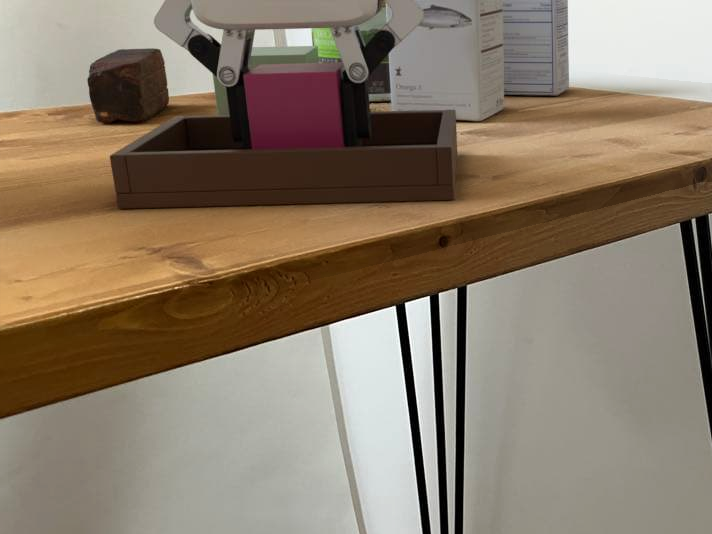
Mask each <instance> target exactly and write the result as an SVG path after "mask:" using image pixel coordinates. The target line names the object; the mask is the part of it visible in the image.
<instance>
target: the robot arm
mask: <svg viewBox="0 0 712 534" xmlns="http://www.w3.org/2000/svg"><path fill="white" fill-rule="evenodd" d="M384 1H385V2H386V3H387V4H388V5H389V6H390V8H391V10H392V18H391V19H390V21H389V22H388V23H387V24H385V25H384V26H383V27H382V28H381V29H380V30H379V31H378V32H377V33H376V34H375V35H374V36H373V37H372V39H371V40H370V41H369V42H368V43H367V44H366V46H365V43H364V40H363V38H362V35H361V32H360V29H359V27H358V25H359V24H362V23H364V22H366V21H368V20H370V19H371V18H372V17H373V16H375V15H377V14H378V13H379V12H380V10H381V9H382V6H383V0H164V1H163V3H162V4H161V6H160V8H159V10H158V11H157V13H156V15H155V16H154V19H153V25H154V26H155V28H156V29H157V30H158V31H159V32H161V33H162V34H163V35H165V36H166V37H167V38H169V39H170V40H172V41H173V43H176V44H177V45H178V46H179V47H181V48H182V49H185V50H187V52H189V54H190V55H191V56H192V57H193V58H194V59H195V60H197V61H198V62H199V63H200V64H201V65H202V66H204V67H205V68H206V69H207V70H208V71H209V72H210V73H212V75H213V74H214V75H215V76H216V77H217V78H218V81H219V82H220V83H221V84H222V85H224V86H226V92H227V99H228V107H229V115H230V123H231V131H232V137H233V141H234V142H242V143H243V150H246V149H252V143H251V135H250V127H249V118H248V110H247V102H246V94H245V85H244V77H243V75H244V74H246V73H247V72H249V71H250V70H249V64H250V58H251V52H252V47H254V46H253V45H254V39H255V33H256V31H258V30H263V31H264V30H300V29H303V30H304V29H311V28H330V31H331V33H332V36H333V39H334V41H335V44H336V47H337V49H338V52H339V55H340V57H341V60H342V63H343V65H344V68H345V70H344V71H343V72H342V73H343V83H342V84H341V85H340V99H341V111H342V122H343V133H344V144H345V147H362V138H371V117H370V112H371V105H370V102H369V92H368V79H367V78H368V77H369V76H370V74H371V73H372V72H373V71H374V70H375V69H376V68H377V66H378V65H379V64H380V63H381V62H382V61H383V59H384V58H385V57H386V56H387V55H388V54H389V53H390V51H391V50H392V49H393V48H394V47H395V46H396V45H398V44H399V43H400V42H401V41H402V40H403V39H404V38H405V37H406V36H407V35H408V34H409V33H411V32H412V31H413V30H414V29H415V28H416V27H417V26H418V25H419V24H420V23H421V22H422V21H423V19H424V11H423V9H422V8H421V7H420V5H419V4H418V3H417V2H416V1H415V0H384ZM191 12H193V14H194V16H195V18H196V20H197V21H199V22H200V23H201V24H203V25H204V26H207V27H210V28H213V29H217V30H223V31H222V37H221V43H220V41H218V40H217V39H215V37H213V35H211V34H209V33H206V32H205V31H204V30H202V29H201V28H199V26H197V25H196V24H195V23H194V22H193V21H192V19H191Z"/></svg>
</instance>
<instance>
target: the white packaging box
mask: <svg viewBox="0 0 712 534" xmlns="http://www.w3.org/2000/svg"><path fill="white" fill-rule="evenodd" d="M415 1H416V2H417V3H418V4H419V5H420V7H421V8H422V9H423V11H424V19H423V21H422V22H421V23H420V24H419V25H418V26H417V27H416V28H415V29H414V30H413V31H412V32H411V33H409V34H408V35H407V36H406V37H405V38H404V39H403V40H402V41H401V42H400V43H399V44H398V45H396V46H395V47H394V48H393V49H392V50H391V51H390V53H389V69H390V87H391V101H390V103H391V104H390V105H391V111H419V110H455V111H456V121H469V122H481V121H484V120H486V119H488V118H489V117H492V116H493V115H495V114H497V113H499V112H501V111H502V110H503V109H504V108H505V95H504V40H503V0H415ZM386 16H387V23H388V22H389V21H390V19H391V18H392V10H391V8H390V6H389V5H388V4H387V3H386Z"/></svg>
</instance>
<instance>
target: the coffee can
mask: <svg viewBox="0 0 712 534" xmlns="http://www.w3.org/2000/svg"><path fill="white" fill-rule="evenodd" d="M385 24H387V16H386V2H385V1H384V0H383V6H382V9H381V10H380V12H379V13H378V14H377V15H375V16H373V17H372V18H371V19H370V20H368V21H366V22H364V23H362V24H359V25H358V27H359V29H360V32H361V35H362V38H363V40H364V43H365V46H366V44H367V43H368V42H369V41H370V40H371V39H372V37H373V36H374V35H375V34H376V33H377V32H378V31H379V30H380V29H381V28H382V27H383V26H384V25H385ZM310 30H311V43H312V46H317V47H318V57H319V63H338V62H342V60H341V57H340V55H339V52H338V49H337V47H336V44H335V41H334V39H333V36H332V33H331V31H330V28H310ZM367 79H368V92H369V103H386V102H388V103H389V102H391V87H390V69H389V54H388V55H387V56H386V57H385V58H384V59H383V61H382V62H381V63H380V64H379V65H378V66H377V68H376V69H375V70H374V71H373V72H372V73H371V74H370V76H369V77H368V78H367Z"/></svg>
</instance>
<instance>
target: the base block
mask: <svg viewBox="0 0 712 534" xmlns="http://www.w3.org/2000/svg"><path fill="white" fill-rule="evenodd" d="M302 63H319V57H318V47H317V46H313V45H295V46H294V45H293V46H291V45H290V46H288V45H287V46H252V52H251V58H250V64H249V70H250V71H251V70H252V69H254V68H256V67H257V66H259V65H265V64H302ZM212 80H213V89H214V95H215V103H216V104H215V105H216V113H217V115H229V107H228V99H227V92H226V86H224V85H222V84H221V83H220V82H219V81H218V78H217V77H216V76H215V75H214V74H213V73H212Z"/></svg>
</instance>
